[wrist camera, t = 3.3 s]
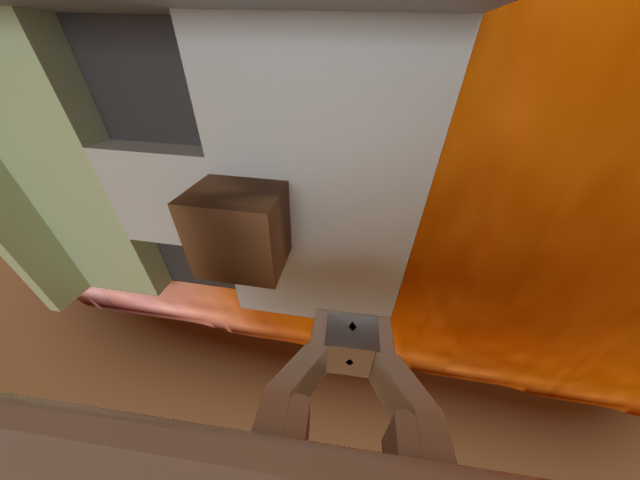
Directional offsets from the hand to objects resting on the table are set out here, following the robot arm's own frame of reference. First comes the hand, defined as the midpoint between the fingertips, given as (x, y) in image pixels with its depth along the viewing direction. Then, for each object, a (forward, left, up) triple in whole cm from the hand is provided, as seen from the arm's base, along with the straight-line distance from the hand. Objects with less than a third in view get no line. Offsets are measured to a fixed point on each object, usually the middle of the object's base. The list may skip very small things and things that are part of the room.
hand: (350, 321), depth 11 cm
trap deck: (+11, 0, -10) cm, 14 cm away
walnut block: (+7, 0, -7) cm, 10 cm away
